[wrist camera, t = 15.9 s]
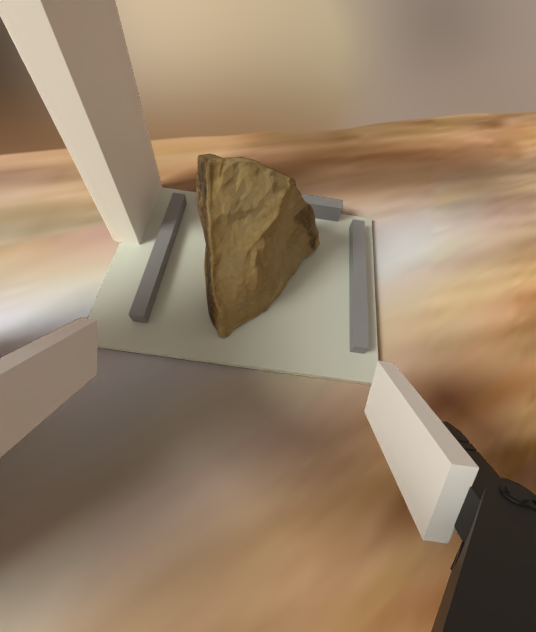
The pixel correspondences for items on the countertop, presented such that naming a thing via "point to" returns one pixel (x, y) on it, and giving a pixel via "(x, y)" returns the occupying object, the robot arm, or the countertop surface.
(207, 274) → the rock
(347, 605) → the countertop surface
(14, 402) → the robot arm
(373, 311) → the shelf unit
